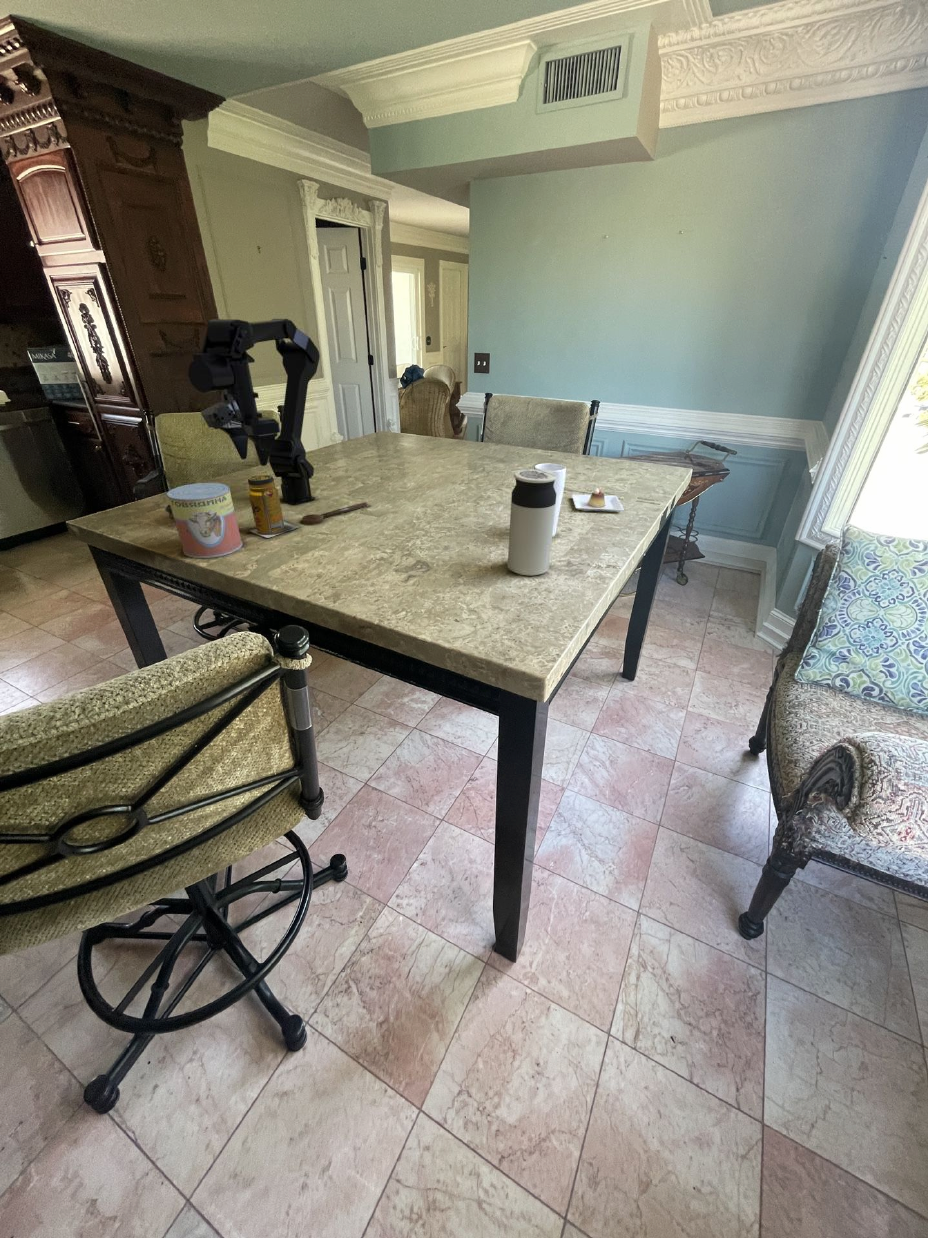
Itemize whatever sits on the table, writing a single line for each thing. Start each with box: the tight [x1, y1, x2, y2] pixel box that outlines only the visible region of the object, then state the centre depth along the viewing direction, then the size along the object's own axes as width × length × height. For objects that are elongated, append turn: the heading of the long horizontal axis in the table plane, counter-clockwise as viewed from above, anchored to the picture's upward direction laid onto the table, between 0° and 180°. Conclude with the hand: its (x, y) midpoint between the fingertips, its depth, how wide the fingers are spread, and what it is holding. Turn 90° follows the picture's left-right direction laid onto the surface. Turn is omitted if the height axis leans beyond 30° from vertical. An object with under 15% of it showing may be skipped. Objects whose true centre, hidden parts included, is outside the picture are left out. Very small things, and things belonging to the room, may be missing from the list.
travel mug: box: [507, 469, 557, 577], centre depth 93 cm, size 8×8×18 cm
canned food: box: [166, 482, 243, 559], centre depth 101 cm, size 11×11×12 cm
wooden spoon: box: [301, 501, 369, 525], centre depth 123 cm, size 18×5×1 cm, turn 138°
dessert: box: [571, 487, 625, 513], centre depth 130 cm, size 12×12×5 cm
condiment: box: [247, 474, 300, 539], centre depth 111 cm, size 7×8×12 cm
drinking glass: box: [533, 462, 567, 538], centre depth 109 cm, size 7×7×15 cm
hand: (253, 462), depth 115 cm, fingers open, 9 cm apart
